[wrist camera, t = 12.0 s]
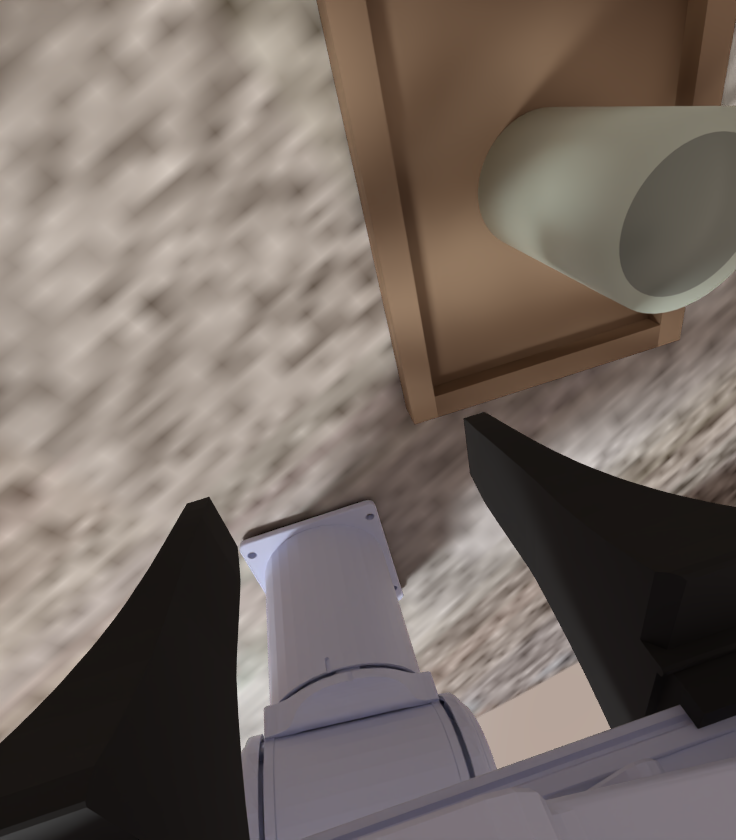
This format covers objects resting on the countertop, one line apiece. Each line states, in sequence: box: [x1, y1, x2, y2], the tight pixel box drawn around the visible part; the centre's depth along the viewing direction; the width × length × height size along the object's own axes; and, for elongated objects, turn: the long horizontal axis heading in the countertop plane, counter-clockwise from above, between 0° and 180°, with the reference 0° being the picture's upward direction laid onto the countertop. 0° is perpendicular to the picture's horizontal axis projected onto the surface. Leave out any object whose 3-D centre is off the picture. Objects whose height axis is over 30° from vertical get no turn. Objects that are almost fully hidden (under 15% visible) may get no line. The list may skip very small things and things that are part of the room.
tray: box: [317, 0, 736, 424], centre depth 19 cm, size 18×14×2 cm
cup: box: [478, 106, 736, 314], centre depth 15 cm, size 5×5×8 cm
